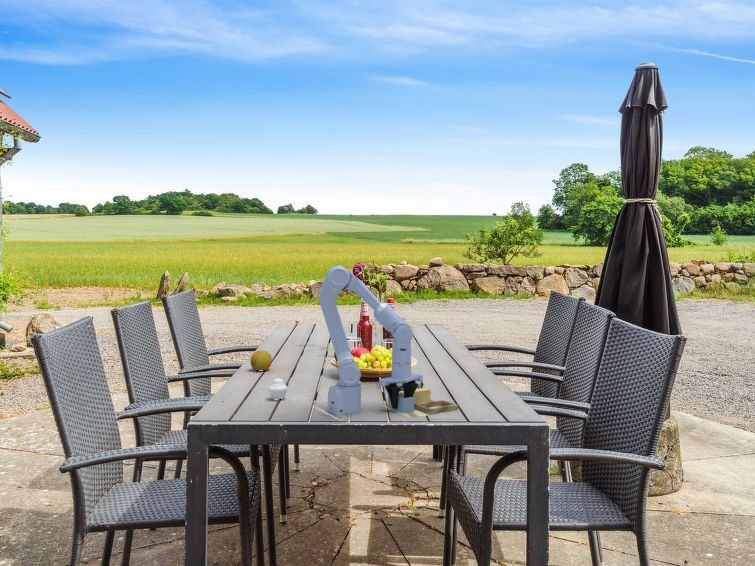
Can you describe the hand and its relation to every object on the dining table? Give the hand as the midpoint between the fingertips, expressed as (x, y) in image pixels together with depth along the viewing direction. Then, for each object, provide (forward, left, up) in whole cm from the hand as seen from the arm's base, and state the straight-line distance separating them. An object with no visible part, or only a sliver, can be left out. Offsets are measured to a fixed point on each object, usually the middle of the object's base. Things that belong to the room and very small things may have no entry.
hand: (400, 407), depth 189 cm
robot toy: (+16, +19, -2) cm, 25 cm away
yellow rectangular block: (+8, +4, -1) cm, 9 cm away
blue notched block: (0, 0, -1) cm, 1 cm away
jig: (+6, -2, -2) cm, 6 cm away
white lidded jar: (-25, +34, -2) cm, 42 cm away
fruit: (-11, +81, -2) cm, 82 cm away
